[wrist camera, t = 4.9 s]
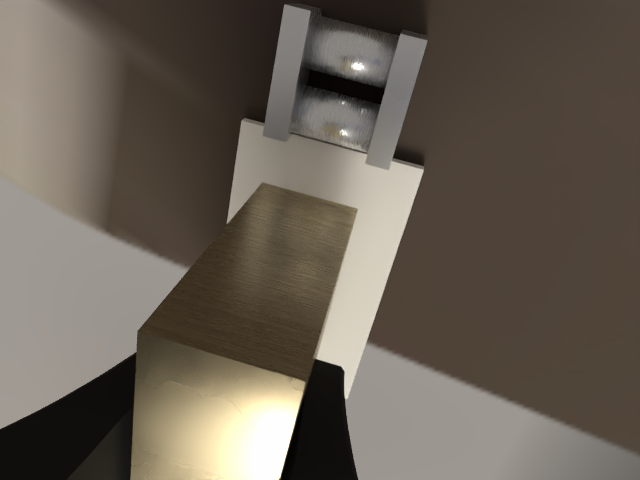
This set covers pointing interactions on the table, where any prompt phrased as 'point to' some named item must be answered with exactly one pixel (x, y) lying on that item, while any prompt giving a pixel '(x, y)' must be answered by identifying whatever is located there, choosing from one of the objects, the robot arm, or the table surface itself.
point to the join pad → (368, 231)
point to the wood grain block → (239, 342)
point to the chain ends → (346, 62)
